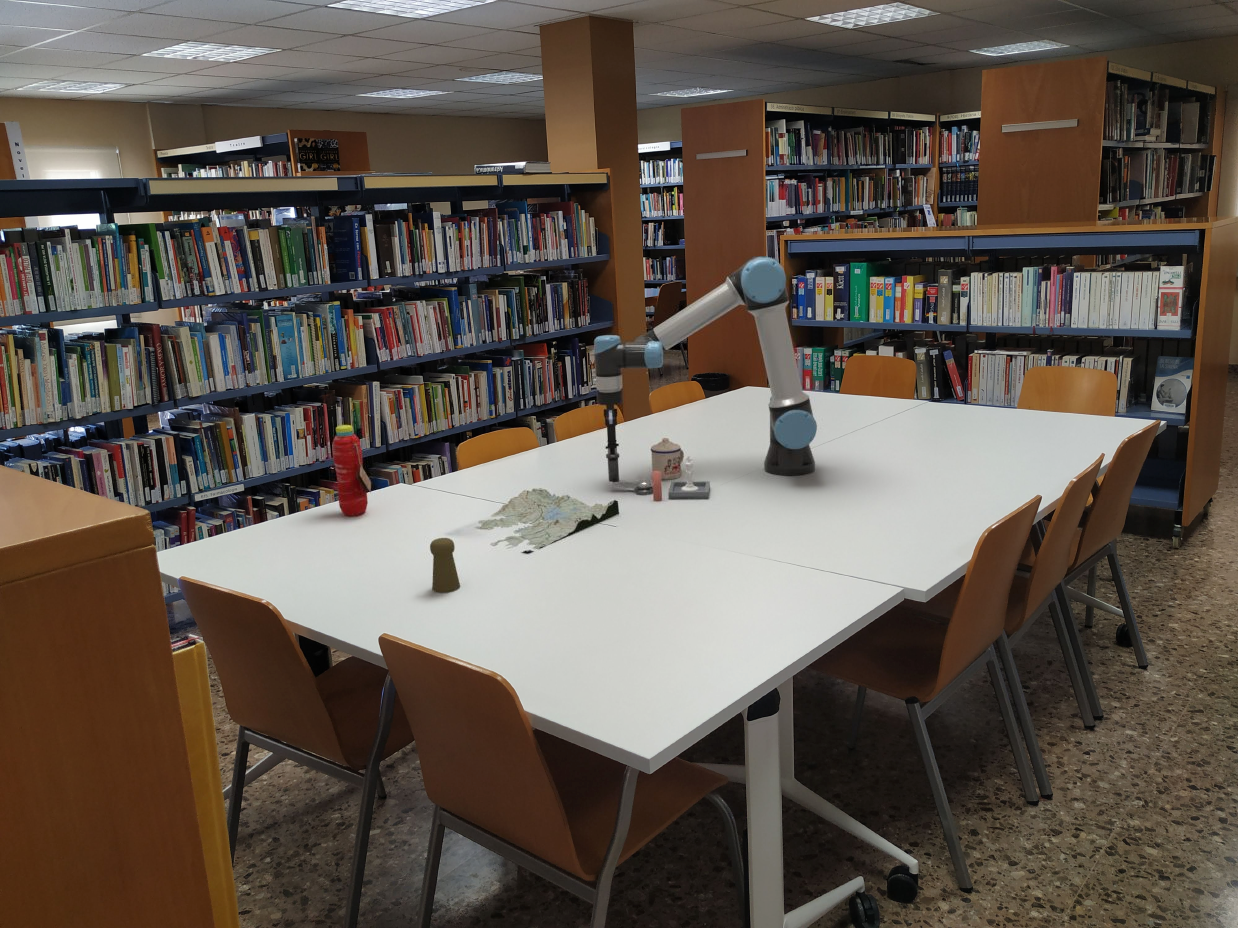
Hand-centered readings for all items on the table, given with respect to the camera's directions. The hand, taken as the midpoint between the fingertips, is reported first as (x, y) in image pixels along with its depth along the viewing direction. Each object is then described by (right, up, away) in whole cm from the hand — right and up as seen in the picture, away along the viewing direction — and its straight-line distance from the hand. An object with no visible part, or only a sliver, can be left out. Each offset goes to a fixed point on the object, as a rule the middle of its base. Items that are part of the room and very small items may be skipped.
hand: (613, 469), depth 273 cm
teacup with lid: (+17, -2, +9) cm, 20 cm away
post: (+12, -8, -15) cm, 21 cm away
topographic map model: (-21, -15, -31) cm, 40 cm away
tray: (+22, -7, -11) cm, 25 cm away
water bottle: (-71, -13, -15) cm, 73 cm away
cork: (-36, -25, -71) cm, 84 cm away
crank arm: (+5, -5, -6) cm, 9 cm away
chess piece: (+22, -6, -11) cm, 25 cm away
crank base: (+9, -6, -7) cm, 13 cm away
